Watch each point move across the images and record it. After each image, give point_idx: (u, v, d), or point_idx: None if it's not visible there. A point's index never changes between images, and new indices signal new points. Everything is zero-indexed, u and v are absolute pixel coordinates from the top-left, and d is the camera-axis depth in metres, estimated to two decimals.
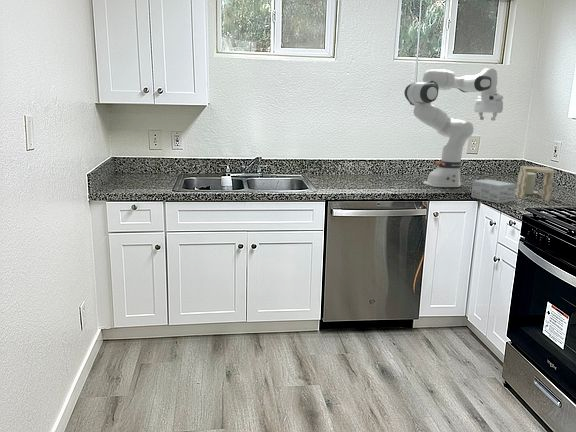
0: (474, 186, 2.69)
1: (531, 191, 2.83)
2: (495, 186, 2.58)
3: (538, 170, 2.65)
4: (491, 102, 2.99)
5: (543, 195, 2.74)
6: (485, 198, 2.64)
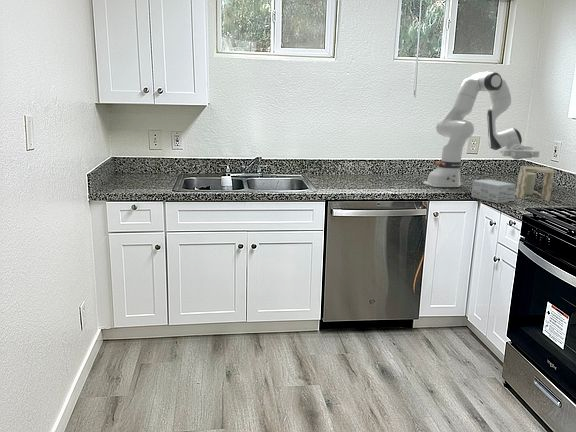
0: (474, 186, 2.70)
1: (531, 191, 2.83)
2: (494, 186, 2.58)
3: (538, 170, 2.65)
4: (527, 149, 3.02)
5: (543, 195, 2.74)
6: (484, 198, 2.64)
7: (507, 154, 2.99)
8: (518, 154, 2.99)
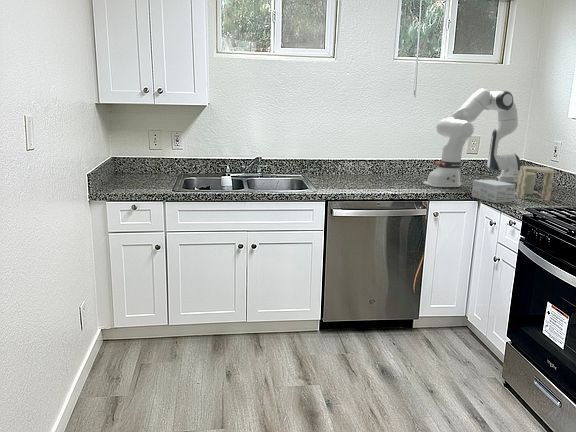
0: (474, 186, 2.70)
1: (531, 191, 2.83)
2: (492, 186, 2.59)
3: (538, 170, 2.65)
4: None
5: (543, 195, 2.74)
6: (483, 198, 2.65)
7: (503, 180, 3.03)
8: None
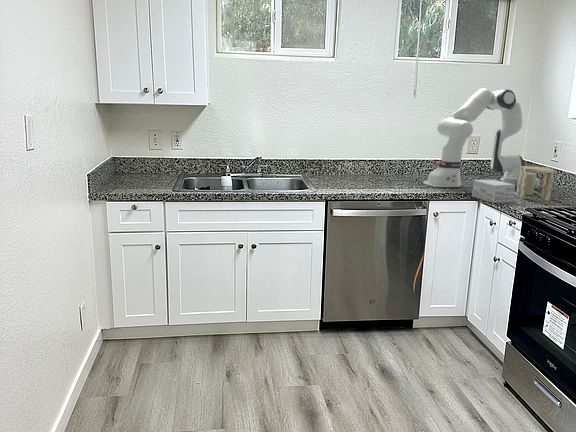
0: (474, 185, 2.71)
1: (531, 191, 2.83)
2: (491, 186, 2.59)
3: (538, 170, 2.65)
4: None
5: (543, 195, 2.74)
6: (483, 197, 2.65)
7: (507, 182, 2.95)
8: None
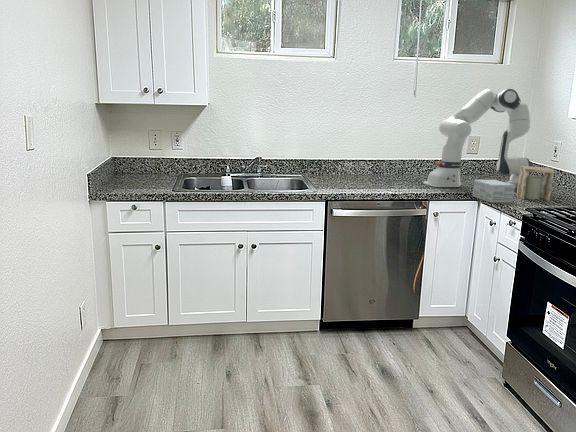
0: (475, 185, 2.72)
1: (537, 196, 2.70)
2: (490, 185, 2.59)
3: (538, 170, 2.65)
4: None
5: (543, 195, 2.74)
6: (482, 197, 2.66)
7: None
8: None
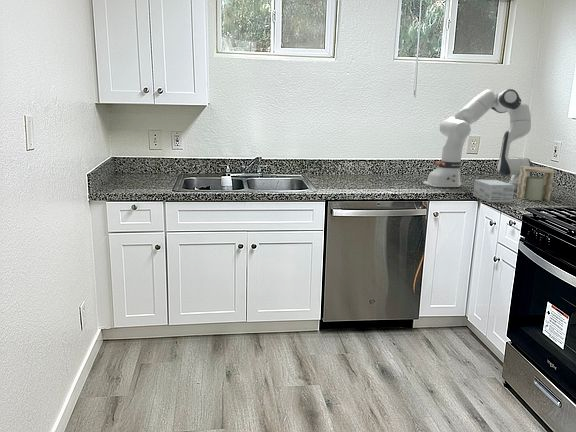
0: (475, 185, 2.72)
1: (538, 197, 2.68)
2: (488, 185, 2.60)
3: (538, 170, 2.65)
4: None
5: (543, 195, 2.74)
6: (481, 197, 2.66)
7: (514, 187, 2.81)
8: None
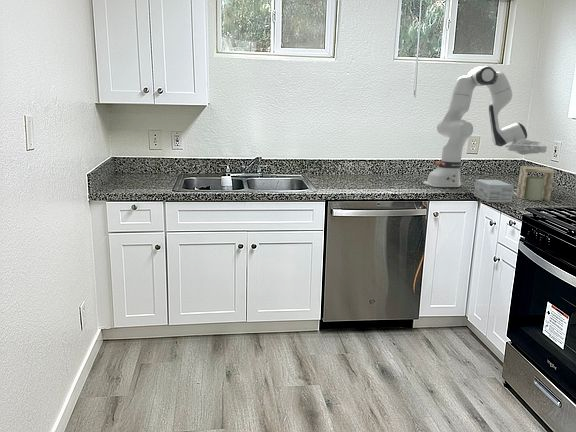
0: (476, 185, 2.73)
1: (538, 197, 2.68)
2: (487, 185, 2.60)
3: (538, 170, 2.65)
4: (534, 144, 2.91)
5: (543, 195, 2.74)
6: (481, 197, 2.67)
7: (513, 148, 2.87)
8: None
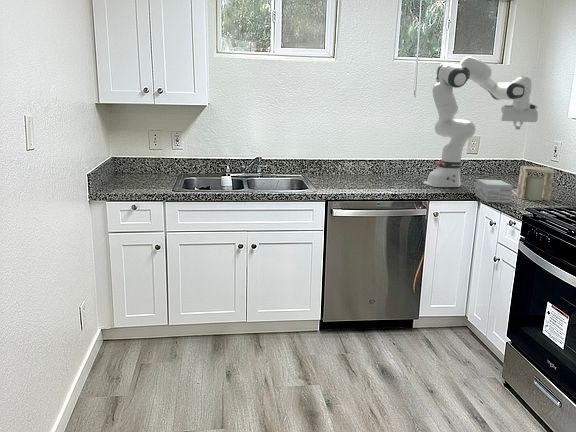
0: (476, 185, 2.74)
1: (538, 197, 2.68)
2: (485, 185, 2.61)
3: (538, 170, 2.65)
4: (529, 111, 2.96)
5: (543, 195, 2.74)
6: (480, 197, 2.67)
7: None
8: None
